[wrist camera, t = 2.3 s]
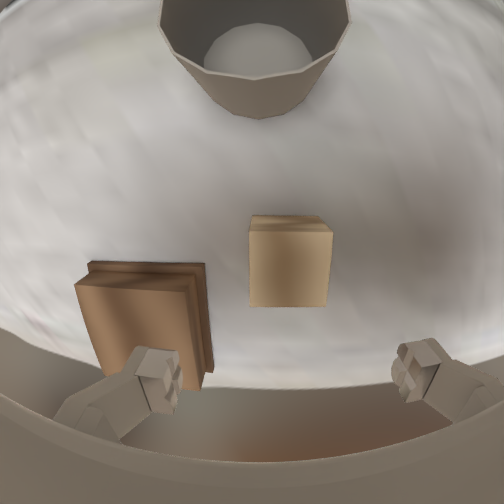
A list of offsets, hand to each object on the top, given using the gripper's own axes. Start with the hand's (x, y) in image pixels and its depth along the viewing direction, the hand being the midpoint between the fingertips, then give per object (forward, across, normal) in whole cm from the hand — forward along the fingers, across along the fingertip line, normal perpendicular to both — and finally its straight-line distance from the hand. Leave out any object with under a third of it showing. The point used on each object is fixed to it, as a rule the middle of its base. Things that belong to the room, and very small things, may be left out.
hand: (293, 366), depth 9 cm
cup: (+13, +1, -14) cm, 20 cm away
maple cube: (+13, -1, 0) cm, 13 cm away
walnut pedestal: (+14, +11, +7) cm, 19 cm away
